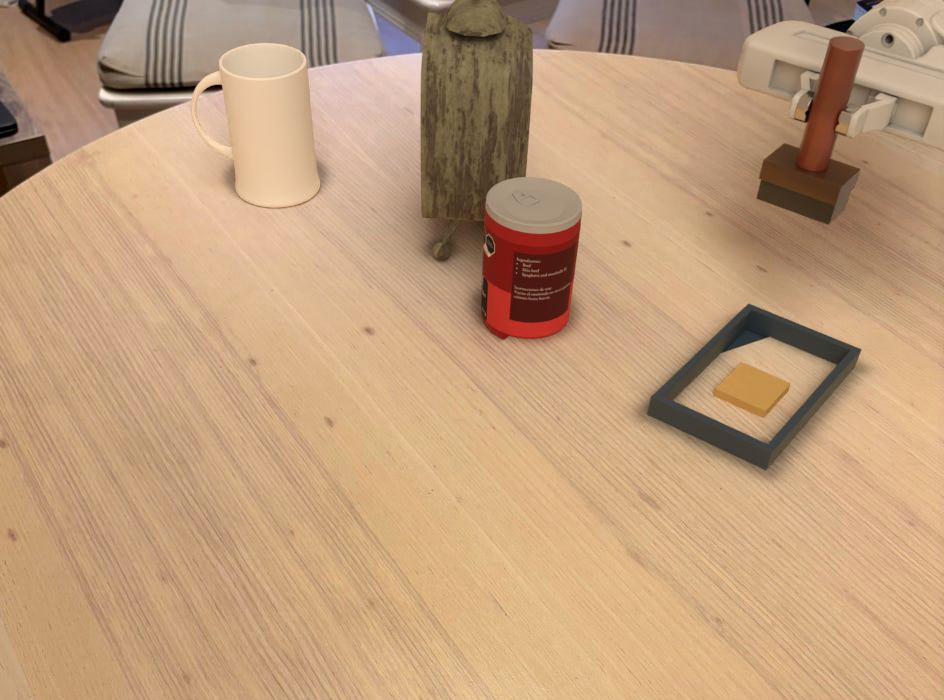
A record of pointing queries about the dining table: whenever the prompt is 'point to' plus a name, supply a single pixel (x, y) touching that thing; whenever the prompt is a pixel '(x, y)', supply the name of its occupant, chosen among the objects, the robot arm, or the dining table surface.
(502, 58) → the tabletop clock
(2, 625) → the dining table surface
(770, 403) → the tan square tile
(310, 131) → the mug
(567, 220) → the canned food
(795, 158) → the brush
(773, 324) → the tray
